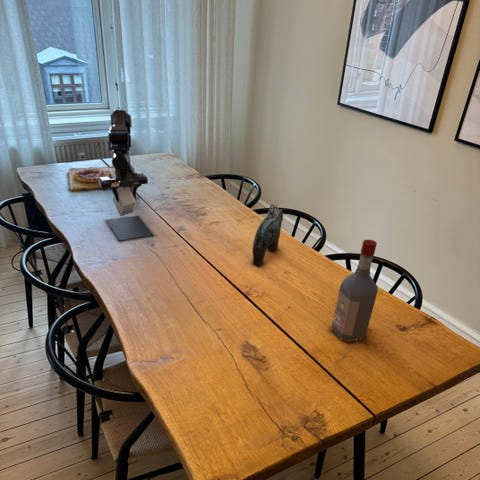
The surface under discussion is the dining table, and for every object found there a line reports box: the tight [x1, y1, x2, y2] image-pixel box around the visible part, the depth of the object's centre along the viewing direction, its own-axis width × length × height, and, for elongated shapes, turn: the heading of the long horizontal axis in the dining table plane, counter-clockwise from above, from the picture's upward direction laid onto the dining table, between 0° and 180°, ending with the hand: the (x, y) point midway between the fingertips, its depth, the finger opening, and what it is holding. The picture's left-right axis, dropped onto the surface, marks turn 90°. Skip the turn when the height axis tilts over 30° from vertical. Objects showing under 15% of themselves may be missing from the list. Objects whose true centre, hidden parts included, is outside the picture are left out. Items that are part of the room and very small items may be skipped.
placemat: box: [106, 215, 154, 242], centre depth 190 cm, size 22×14×1 cm, turn 27°
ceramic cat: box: [252, 204, 284, 267], centre depth 170 cm, size 20×6×20 cm, turn 154°
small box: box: [112, 187, 137, 217], centre depth 188 cm, size 8×6×10 cm
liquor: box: [330, 239, 379, 344], centre depth 128 cm, size 9×9×30 cm
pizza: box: [67, 165, 119, 193], centre depth 237 cm, size 35×28×4 cm
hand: (125, 201), depth 186 cm, fingers closed on small box, 6 cm apart
